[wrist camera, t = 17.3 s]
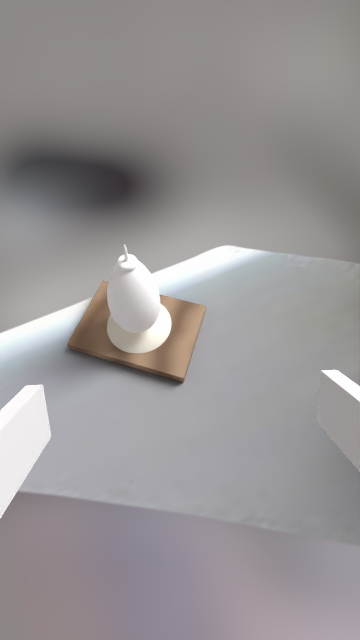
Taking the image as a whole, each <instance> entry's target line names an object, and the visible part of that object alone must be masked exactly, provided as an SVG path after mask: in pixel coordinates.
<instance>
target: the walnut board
mask: <svg viewBox="0 0 360 640" xmlns="http://www.w3.org/2000/svg"><path fill="white" fill-rule="evenodd" d="M107 288H108V282H107V281H103V282H102V283H101V285H100V287H99V289H98V290H97V292H96V294H95V296H94V298H93V299H92V301H91V303H90V305H89V306H88V308H87V310H86V312H85V314H84V315H83V317H82V319H81V321H80V322H79V324H78V326H77V328H76V330H75V331H74V333H73V335H72V337H71V338H70V340H69V342H68V344H67V345H68V346H69V347H70V349H71V350H74V351H78V352H81V353H85V354H88V355H92V356H95V357H98V358H102V359H105V360H109V361H112V362H115V363H119V364H122V365H126V366H129V367H132V368H136V369H139V370H143V371H146V372H149V373H153V374H156V375H160V376H163V377H167V378H170V379H173V380H177V381H180V382H184V379H185V376H186V373H187V369H188V366H189V363H190V360H191V357H192V353H193V350H194V347H195V344H196V340H197V337H198V334H199V331H200V327H201V324H202V321H203V318H204V315H205V310H206V306H203V305H199V304H195V303H191V302H187V301H183V300H179V299H175V298H171V297H167V296H163V295H159V296H160V312H159V316H158V319H157V320H156V322H155V324H154V325H153V326H152V327H151V328H149V329H148V330H146V331H144V332H141V333H131V332H128V331H125V330H124V329H122V328H121V327H120V326H119V325H118V324H117V323H116V322H115V320H114V319H113V317H112V315H111V313H110V309H109V306H108V300H107Z"/></svg>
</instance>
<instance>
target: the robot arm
mask: <svg viewBox="0 0 360 640" xmlns="http://www.w3.org/2000/svg"><path fill="white" fill-rule="evenodd" d="M317 423H318V424H319V425H320V426H321V428H322V429H323V430H324V431H325V432H326V433H327V435H328V436H329V437H330V438H331V439H332V440H333V442H334V443H335V444H336V445H337V446H338V447H339V449H340V450H341V451H342V452H343V453H344V454H345V456H346V457H347V458H348V459H349V460H350V461H351V463H352V464H353V465H354V466H355V467H356V468H357V470H358V471H359V472H360V386H358V385H357V384H356V383H354V382H353V381H352V380H350V379H349V378H347V377H346V376H345V375H343V374H342V373H340V372H339V371H338V370H323V371H321V375H320V388H319V400H318V412H317ZM50 438H51V433H50V427H49V420H48V414H47V408H46V401H45V395H44V389H43V385H26V386H25V387H24V388H23V389H22V390H21V391H20V392H19V393H18V394H17V395H16V396H15V397H14V398H13V399H12V400H11V401H10V402H8V403H7V404H6V405H5V406H4V407H3V408H2V409H1V410H0V518H1V516H2V515H3V513H4V511H5V510H6V508H7V507H8V505H9V504H10V502H11V500H12V499H13V497H14V496H15V494H16V492H17V491H18V489H19V488H20V486H21V484H22V483H23V481H24V479H25V478H26V476H27V475H28V473H29V471H30V470H31V468H32V467H33V465H34V463H35V462H36V460H37V459H38V457H39V455H40V454H41V452H42V451H43V449H44V447H45V446H46V444H47V443H48V441H49V439H50Z"/></svg>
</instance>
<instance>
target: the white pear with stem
mask: <svg viewBox="0 0 360 640" xmlns="http://www.w3.org/2000/svg"><path fill="white" fill-rule="evenodd" d="M107 300H108V306H109V309H110V313H111V315H112V317H113V319H114V320H115V322H116V323H117V324H118V325H119V326H120V327H121V328H122V329H124V330H125V331H128V332H131V333H141V332H144V331H146V330H148V329H149V328H151V327H152V326H153V325H154V324H155V322H156V320H157V319H158V316H159V312H160V296H159V291H158V287H157V285H156V282H155V280H154V278H153V277H152V275H151V273H150V272H149V271H148V269H147V268H146V267H145V266H144V265H143V264H142V263H141V262H139V261H138V260H137V258H136V257H135V256H133V255H131V254H128V253H127V249H126V246H125V245H124V255H122V256H120V257H119V259H118V261H117V264H116V265H115V267H114V268H113V270H112V272H111V275H110V278H109V281H108V288H107Z"/></svg>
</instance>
